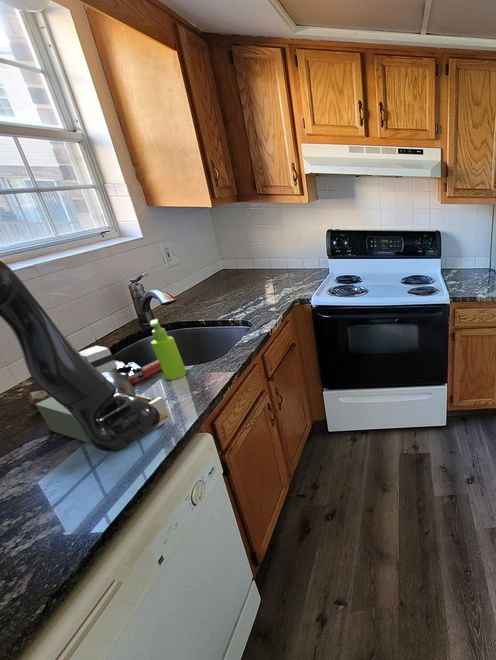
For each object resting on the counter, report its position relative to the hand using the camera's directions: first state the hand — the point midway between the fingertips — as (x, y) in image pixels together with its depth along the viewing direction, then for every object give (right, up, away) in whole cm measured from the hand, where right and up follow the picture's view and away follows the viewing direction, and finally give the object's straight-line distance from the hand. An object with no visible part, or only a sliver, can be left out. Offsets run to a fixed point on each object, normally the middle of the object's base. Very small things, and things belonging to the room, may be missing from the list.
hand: (100, 369), depth 90 cm
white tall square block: (+2, -11, +3) cm, 11 cm away
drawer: (+4, -16, +5) cm, 17 cm away
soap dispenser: (-5, -5, +31) cm, 32 cm away
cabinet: (-10, -15, +10) cm, 21 cm away
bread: (-25, -11, +20) cm, 34 cm away
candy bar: (-15, -5, +33) cm, 36 cm away
